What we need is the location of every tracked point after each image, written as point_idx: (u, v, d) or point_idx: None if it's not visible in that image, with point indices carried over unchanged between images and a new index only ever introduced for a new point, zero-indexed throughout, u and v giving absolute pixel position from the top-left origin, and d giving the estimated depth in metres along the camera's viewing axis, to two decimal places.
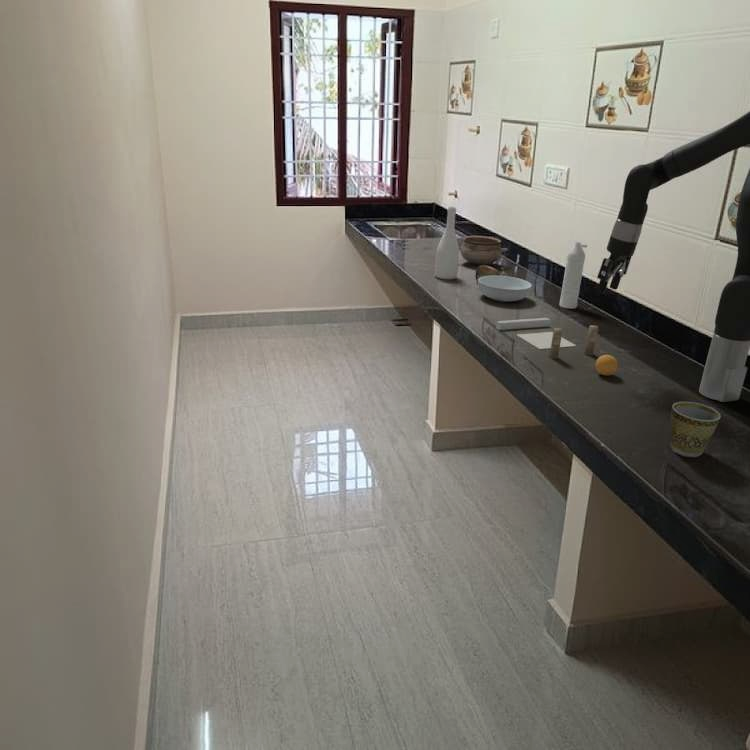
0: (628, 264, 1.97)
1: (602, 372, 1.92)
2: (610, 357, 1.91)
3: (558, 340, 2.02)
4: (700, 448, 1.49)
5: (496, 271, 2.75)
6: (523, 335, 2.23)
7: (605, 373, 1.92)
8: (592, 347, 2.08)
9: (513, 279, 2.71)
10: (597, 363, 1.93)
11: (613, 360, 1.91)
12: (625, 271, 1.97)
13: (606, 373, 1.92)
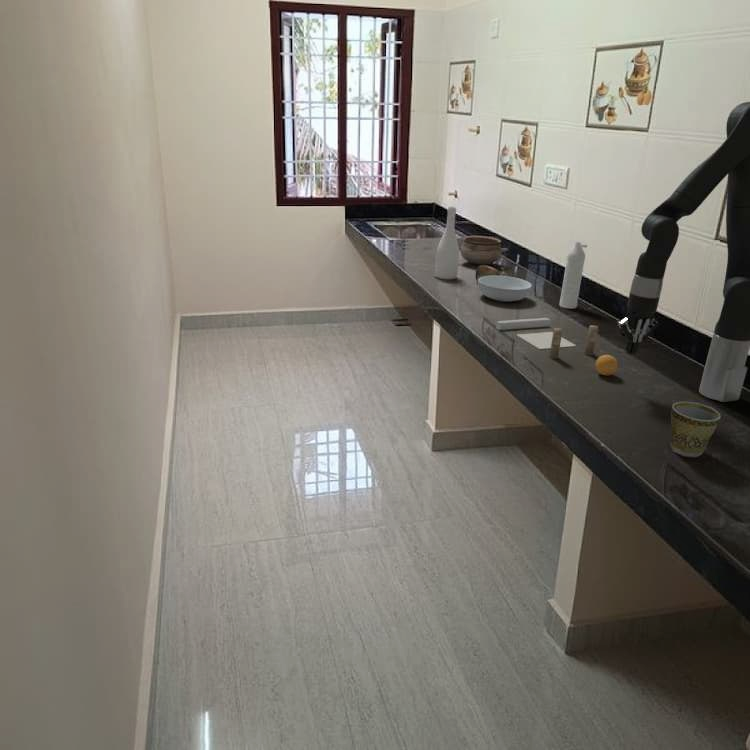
0: (652, 330, 1.81)
1: (602, 372, 1.92)
2: (610, 357, 1.91)
3: (558, 340, 2.02)
4: (700, 448, 1.49)
5: (496, 271, 2.75)
6: (523, 335, 2.23)
7: (605, 373, 1.92)
8: (592, 347, 2.08)
9: (513, 279, 2.71)
10: (597, 363, 1.93)
11: (613, 360, 1.91)
12: (646, 335, 1.81)
13: (606, 373, 1.92)
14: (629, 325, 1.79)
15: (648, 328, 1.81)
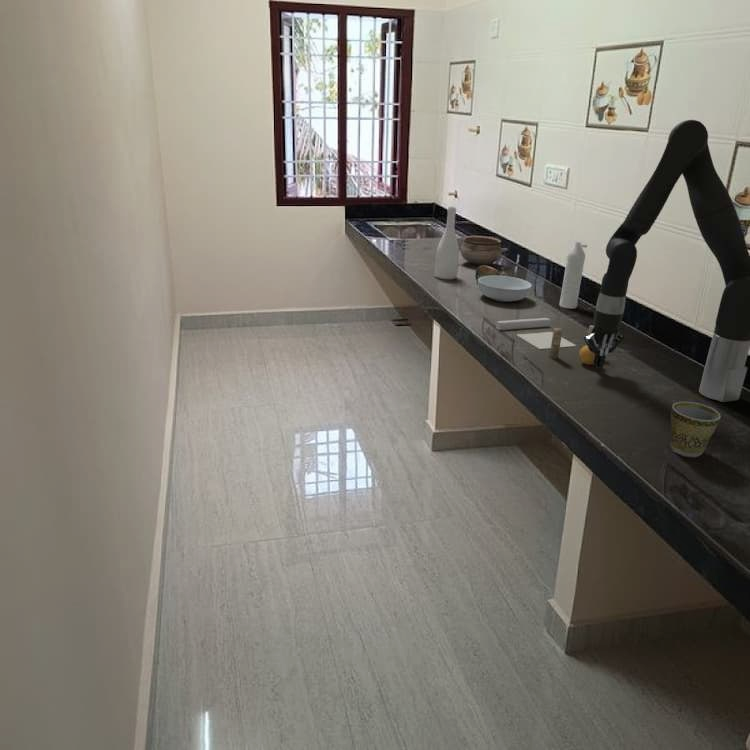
0: (617, 344, 1.94)
1: (584, 348, 1.99)
2: None
3: (558, 340, 2.02)
4: (700, 448, 1.49)
5: (496, 271, 2.75)
6: (523, 335, 2.23)
7: (586, 346, 2.00)
8: None
9: (513, 279, 2.71)
10: (581, 357, 2.00)
11: None
12: (611, 348, 1.94)
13: (586, 346, 2.00)
14: (596, 340, 1.92)
15: (614, 342, 1.94)
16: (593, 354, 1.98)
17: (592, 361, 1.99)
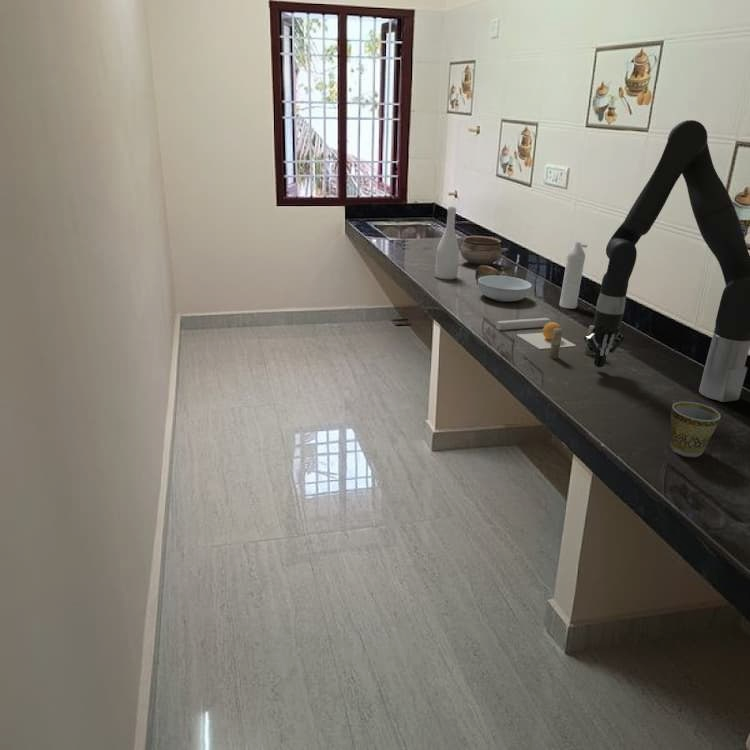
0: (618, 344, 1.94)
1: (544, 326, 2.21)
2: None
3: (558, 340, 2.02)
4: (700, 448, 1.49)
5: (496, 271, 2.75)
6: (523, 335, 2.23)
7: None
8: None
9: (513, 279, 2.71)
10: (545, 333, 2.19)
11: None
12: (612, 348, 1.94)
13: None
14: (596, 340, 1.92)
15: (614, 342, 1.95)
16: (552, 323, 2.18)
17: None
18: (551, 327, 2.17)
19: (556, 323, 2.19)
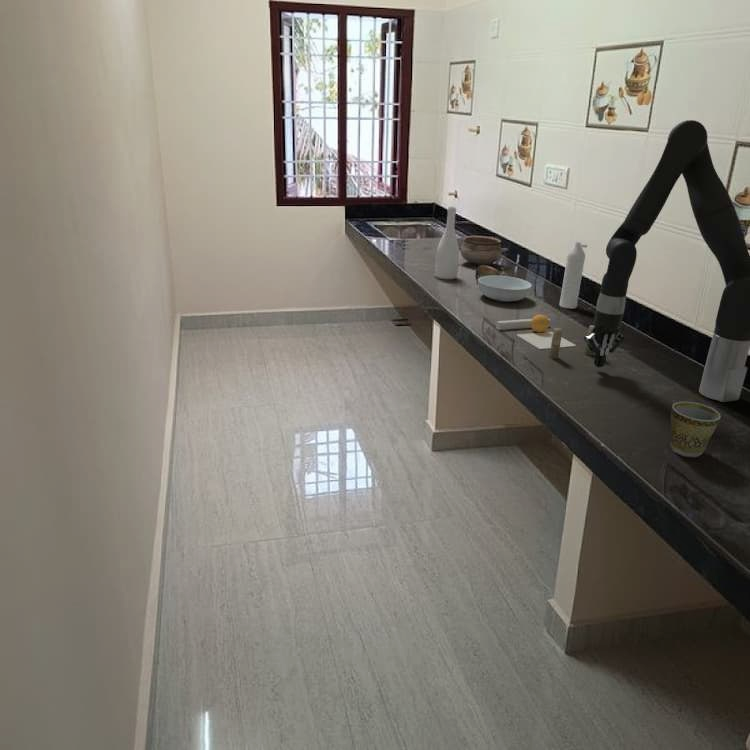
0: (618, 344, 1.94)
1: (535, 329, 2.26)
2: (542, 317, 2.25)
3: (558, 340, 2.02)
4: (700, 448, 1.49)
5: (496, 271, 2.75)
6: (523, 335, 2.23)
7: (537, 330, 2.26)
8: None
9: (513, 279, 2.71)
10: (531, 321, 2.26)
11: (545, 320, 2.25)
12: (612, 348, 1.94)
13: (538, 330, 2.26)
14: (596, 340, 1.92)
15: (614, 342, 1.95)
16: None
17: None
18: None
19: None
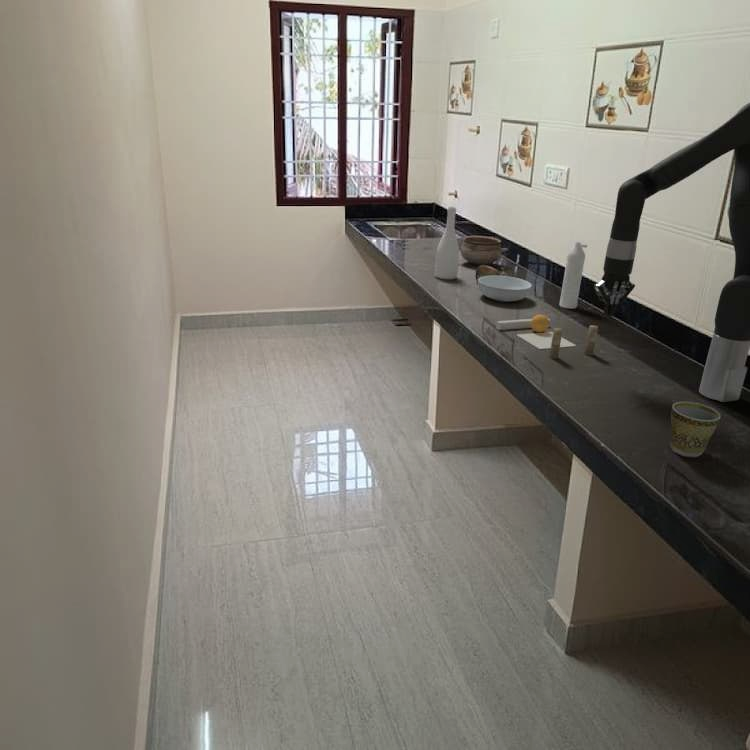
0: (628, 292, 1.88)
1: (535, 329, 2.26)
2: (542, 317, 2.25)
3: (558, 340, 2.02)
4: (700, 448, 1.49)
5: (496, 271, 2.75)
6: (523, 335, 2.23)
7: (537, 330, 2.26)
8: (592, 347, 2.08)
9: (513, 279, 2.71)
10: (531, 321, 2.26)
11: (545, 320, 2.25)
12: (622, 297, 1.88)
13: (538, 330, 2.26)
14: (606, 287, 1.86)
15: (624, 290, 1.89)
16: None
17: None
18: None
19: None
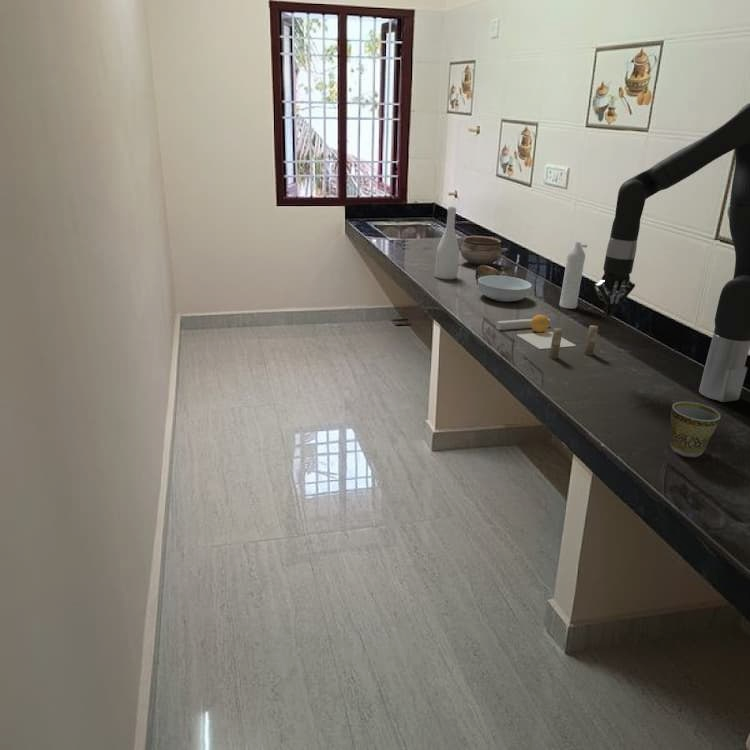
0: (628, 292, 1.88)
1: (535, 329, 2.26)
2: (542, 317, 2.25)
3: (558, 340, 2.02)
4: (700, 448, 1.49)
5: (496, 271, 2.75)
6: (523, 335, 2.23)
7: (537, 330, 2.26)
8: (592, 347, 2.08)
9: (513, 279, 2.71)
10: (531, 321, 2.26)
11: (545, 320, 2.25)
12: (622, 296, 1.88)
13: (538, 330, 2.26)
14: (606, 287, 1.86)
15: (624, 290, 1.89)
16: None
17: None
18: None
19: None
